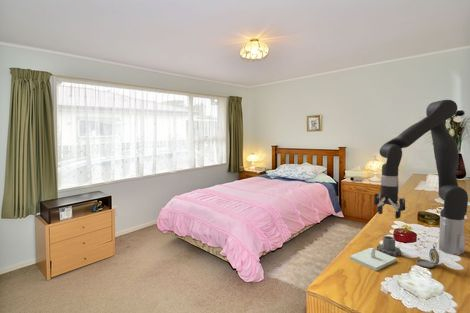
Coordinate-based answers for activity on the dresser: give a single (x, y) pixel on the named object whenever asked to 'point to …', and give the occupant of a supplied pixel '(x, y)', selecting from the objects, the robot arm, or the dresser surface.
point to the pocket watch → (432, 254)
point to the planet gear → (389, 246)
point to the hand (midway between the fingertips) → (388, 216)
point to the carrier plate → (373, 259)
